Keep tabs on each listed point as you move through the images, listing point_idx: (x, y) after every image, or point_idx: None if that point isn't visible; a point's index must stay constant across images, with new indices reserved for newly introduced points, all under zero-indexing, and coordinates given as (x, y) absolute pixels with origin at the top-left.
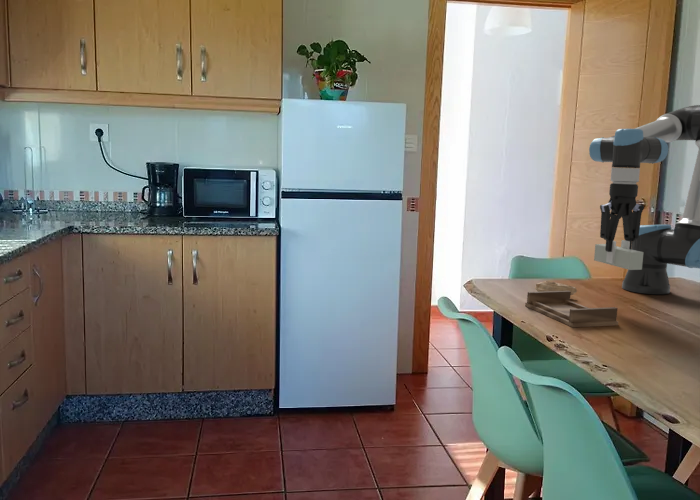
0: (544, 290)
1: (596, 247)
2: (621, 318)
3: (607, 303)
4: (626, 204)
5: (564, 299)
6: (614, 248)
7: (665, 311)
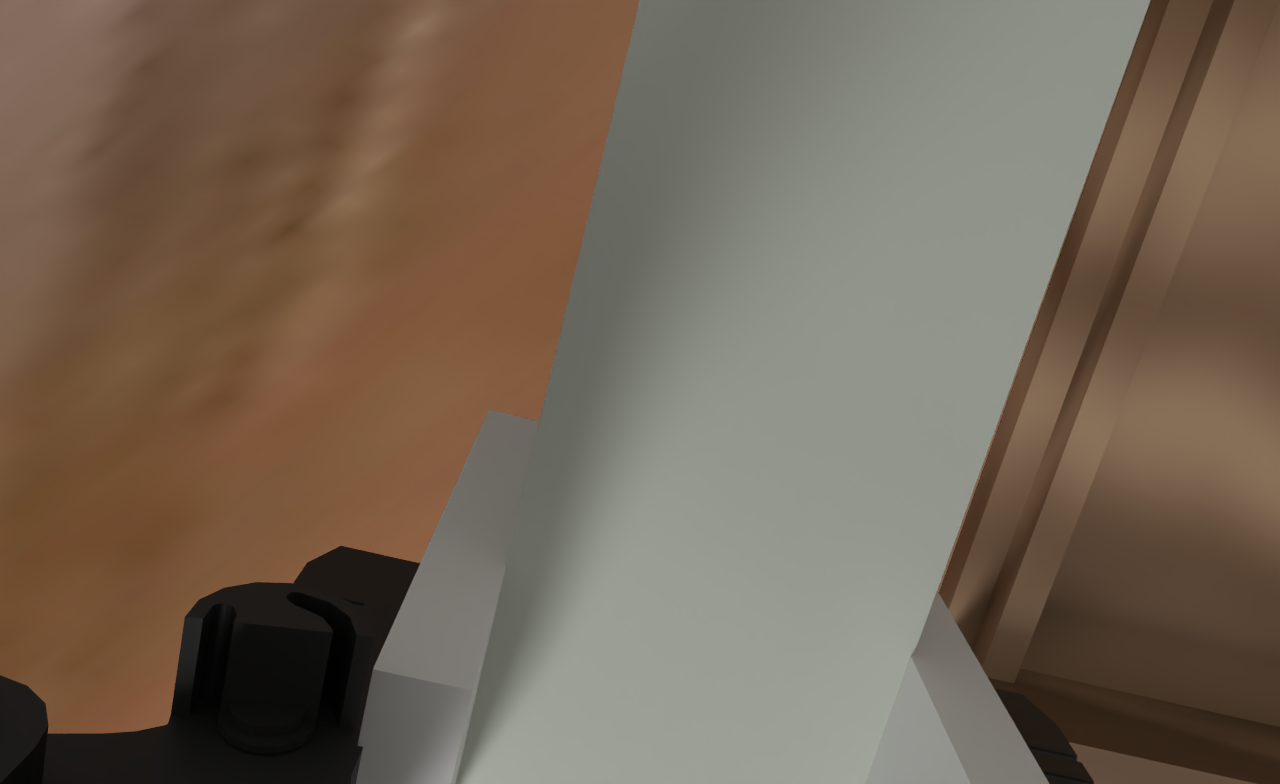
0: None
1: None
2: None
3: None
4: None
5: (1015, 684)
6: (949, 670)
7: (68, 29)
